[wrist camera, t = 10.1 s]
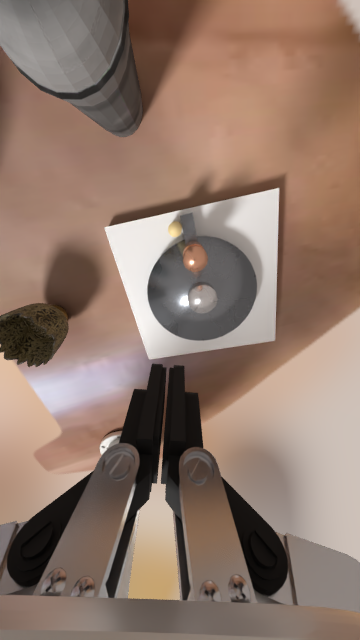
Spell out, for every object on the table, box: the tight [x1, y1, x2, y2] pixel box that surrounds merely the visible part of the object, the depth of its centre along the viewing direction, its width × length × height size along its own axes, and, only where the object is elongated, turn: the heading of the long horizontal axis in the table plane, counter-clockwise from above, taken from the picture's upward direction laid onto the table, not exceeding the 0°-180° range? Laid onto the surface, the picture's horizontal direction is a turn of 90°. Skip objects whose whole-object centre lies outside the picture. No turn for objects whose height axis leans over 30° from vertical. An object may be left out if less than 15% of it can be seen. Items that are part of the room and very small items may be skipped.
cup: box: [0, 303, 68, 367], centre depth 27 cm, size 8×7×8 cm
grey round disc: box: [147, 212, 257, 341], centre depth 24 cm, size 16×14×6 cm
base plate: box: [104, 188, 279, 360], centre depth 26 cm, size 20×20×5 cm
